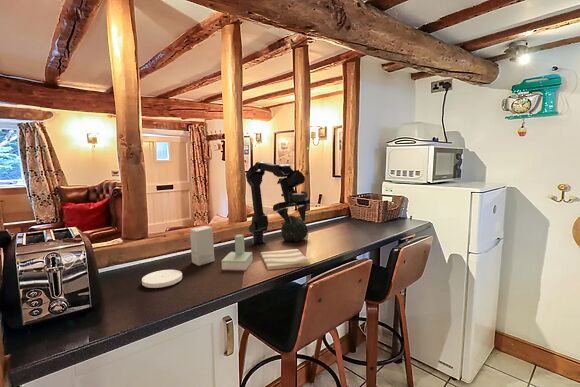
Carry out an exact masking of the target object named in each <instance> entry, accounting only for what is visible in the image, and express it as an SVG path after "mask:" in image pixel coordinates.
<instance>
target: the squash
mask: <svg viewBox="0 0 580 387" xmlns="http://www.w3.org/2000/svg"><path fill="white" fill-rule="evenodd" d="M288 216H289V220H290V224H287V223H286V221H285V220H284V221H283V223H282V225H281V229H280V230H281V237H282V239H283V240H285V242H286V241H287V242H290V243H291V242H295V243H297V242H301V241H303V240H304V239H306V236H308V232H309V231H308V230H309V229H308V226H307V224H306V223H305V221H302V219H301V218H299V217H297V216H295V215H291V214H290V215H289V214H288Z"/></svg>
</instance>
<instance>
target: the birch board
mask: <svg viewBox="0 0 580 387" xmlns="http://www.w3.org/2000/svg"><path fill="white" fill-rule="evenodd" d="M260 257H261V259H262V261H263V263H264V265H265V267H266V270H267V271H269V270H272V271H273V270H280V269H287V268H289V269H291V268H297V267H299V268H300V267H307V266H308V267H309V266H311V262H310V260H308V259H307V257H306V256H305V255H304V254H303V253H302V252H301V251H300V250H299V249H298V248H295V249H292V248H291V249H283V250H282V249H281V250H273V251H261V252H260Z"/></svg>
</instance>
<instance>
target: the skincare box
mask: <svg viewBox="0 0 580 387" xmlns="http://www.w3.org/2000/svg"><path fill="white" fill-rule="evenodd" d="M189 239H190V240H189V241H190V252H191V253H190V254H191V263H192V264H194V265H196V266H202V265H203V266H204V265H206V264H209V263H213V262H215V261H216V260H215V245H214V228H213V227H212V226H209V225H204V226H198V227H194V228H189Z"/></svg>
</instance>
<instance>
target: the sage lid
mask: <svg viewBox="0 0 580 387" xmlns="http://www.w3.org/2000/svg"><path fill="white" fill-rule="evenodd" d="M234 250H235V251H230V252H229V253H228V254H227V255H226V256H225V257H223V259H221V264H222V263H246V262H247V261H248V259H249V258H250V257H251V256H252V257H253V252H252V251H245V234H236V235H235V236H234Z"/></svg>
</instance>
